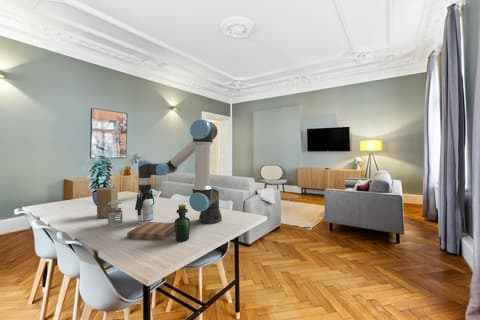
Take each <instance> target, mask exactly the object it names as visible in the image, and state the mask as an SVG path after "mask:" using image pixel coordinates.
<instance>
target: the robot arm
mask: <svg viewBox="0 0 480 320" xmlns="http://www.w3.org/2000/svg"><path fill="white" fill-rule="evenodd" d="M189 133H190V135H191V137H192V140H191V141H190V142H189V143H187V144H186V145H185V146H184V147H183V148H182V149H181V150H179V152H177V153H176V154H175V155H174V156H173V157H171V158H170V159H169V160H168V161H167V162H161V163H160V162H159V163H152V162H151V160H150V159H148V160H147V159H143V160H138V164H137V170H138V178H137V179H138V191H139V192H140V193H137V194H136V195H137V196H136V200H135V201H136V202H135V207H134V210H135V211H136V212H137V211H138V215H137V221H138V220H143V218H142V210H141V209H142V206H143V201H144V200H145V199H153V206H154V205H155V198H154V194H153V190H152V176H160V177H162V176H167V175H168V174H174V173H176V172H177V170H178V169H179V167H181V166H182V165H183V164H184V163H185V162H187V161H188V160H189V159H190V158H191V157H192V156H194V154H195V156H194V157H195V158H194V159H195V162H194V163H195V166H194V169H195V170H194V172H195V173H194V176H195V177H194V186H193V187H192V189H191V190H192V194H191V195H190V197H189V200H188V204H189V206H190V208H191V209H193V211H195V212H200V213H199V216H198V221H199V223H200V224H201V223H202V224H208V225H211V224H217V223H220V222H221V221H223V218H222V217H223V216H222V213H221V210H220V187H219V186H218V185H217V186H215V185H210V175H211V173H210V171H211V169H210V167H211V162H210V161H211V145H212V144H213V142H214V139H215V138H216V137H217V135H218V127H217V125H216V124H215V123H213V122H211V121H208V120H207V119H195V120H194V121H193V122H192V123H191V125H190V127H189Z"/></svg>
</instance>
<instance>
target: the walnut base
mask: <svg viewBox="0 0 480 320" xmlns="http://www.w3.org/2000/svg"><path fill="white" fill-rule="evenodd" d="M173 232H175V226H174V222H163V221H162V222H160V221H159V222H158V221H157V222H156V221H153V222H145V223H143V224H139V225H138V226H136V227H135V228H133V229H131V230H129V231H128V232H127V233H126V239H136V240H152V241H153V240H155V241H164V240H165V239H167V238H168V236H170V235H171V234H172V233H173Z"/></svg>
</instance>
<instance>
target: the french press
mask: <svg viewBox="0 0 480 320" xmlns="http://www.w3.org/2000/svg"><path fill="white" fill-rule="evenodd" d="M112 187H116V188H118V187H117V185H116V184H114V185H112ZM121 204H123V201H121V200H119V199H118V200H114V201H111V202H109V203H108V205H118V206H119V205H121ZM107 207H108V206H106V207H105V208H104V209H106V208H107ZM108 209H109V208H108ZM103 211H105V210H103ZM109 211H110V212H108V217H106V218H105V219H107V223H108V224H107V225H106V227H108V228H117V227H120V226H124V224H125V222H124V221H123V220H124V219H123V210H122V207H118V208H112V209H109ZM112 212H114V213H112ZM103 215H104V214H103ZM114 215H115V216H114ZM112 216H113V217H112ZM104 217H105V215H104Z"/></svg>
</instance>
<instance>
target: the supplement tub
mask: <svg viewBox="0 0 480 320" xmlns="http://www.w3.org/2000/svg"><path fill="white" fill-rule="evenodd" d="M141 210H142V218H143V220H138V219H137V223H138V224H139V225H141V224H143V223H145V222H154V205H153V199H145V200H144V201H143V206H142V209H141ZM136 212H137V214H136V216H138V211H137V210H136Z"/></svg>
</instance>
